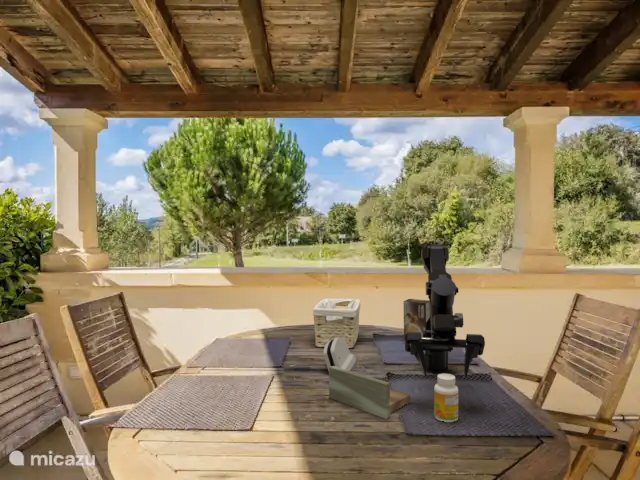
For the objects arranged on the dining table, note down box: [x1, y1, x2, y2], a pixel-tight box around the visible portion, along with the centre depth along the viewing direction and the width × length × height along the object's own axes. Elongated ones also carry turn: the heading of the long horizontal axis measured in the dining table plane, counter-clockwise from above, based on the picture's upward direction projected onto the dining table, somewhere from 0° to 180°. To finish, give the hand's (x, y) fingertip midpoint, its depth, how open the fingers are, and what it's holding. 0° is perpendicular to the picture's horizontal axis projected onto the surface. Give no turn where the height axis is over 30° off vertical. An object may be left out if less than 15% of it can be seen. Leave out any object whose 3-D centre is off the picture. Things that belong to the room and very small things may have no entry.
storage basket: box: [312, 297, 361, 349], centre depth 169 cm, size 24×16×15 cm
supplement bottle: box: [433, 373, 459, 423], centre depth 102 cm, size 5×5×10 cm
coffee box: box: [403, 298, 430, 344], centre depth 164 cm, size 9×6×16 cm
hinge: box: [322, 337, 357, 372], centre depth 138 cm, size 17×5×10 cm, turn 165°
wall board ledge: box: [328, 366, 411, 420], centre depth 112 cm, size 12×18×8 cm, turn 46°
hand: (445, 375), depth 103 cm, fingers open, 9 cm apart
